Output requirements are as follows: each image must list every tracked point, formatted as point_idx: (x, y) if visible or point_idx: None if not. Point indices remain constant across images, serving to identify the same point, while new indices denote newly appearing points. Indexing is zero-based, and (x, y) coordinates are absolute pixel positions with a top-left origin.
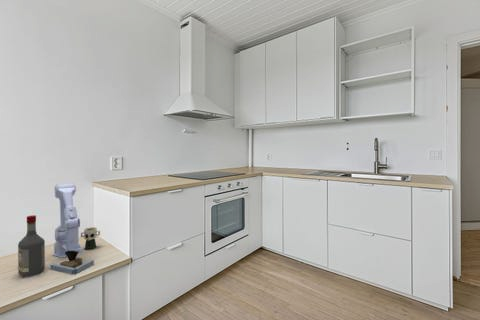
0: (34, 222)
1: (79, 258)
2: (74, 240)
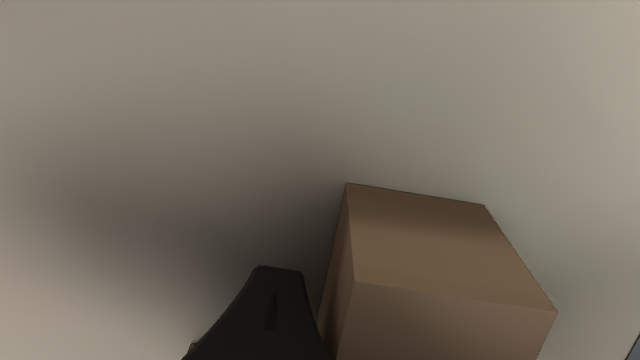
0: None
1: (462, 334)
2: None
